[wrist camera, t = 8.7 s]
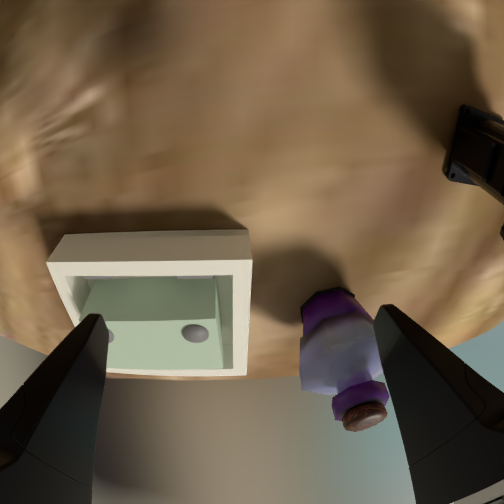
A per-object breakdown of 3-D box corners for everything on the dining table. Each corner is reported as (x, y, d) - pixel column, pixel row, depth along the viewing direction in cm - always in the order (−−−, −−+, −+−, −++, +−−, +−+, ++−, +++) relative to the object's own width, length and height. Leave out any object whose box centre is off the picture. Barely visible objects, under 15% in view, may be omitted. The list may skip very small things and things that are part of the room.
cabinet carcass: (248, 229, 22) (252, 259, 19) (243, 345, 30) (246, 375, 27) (64, 234, 20) (46, 262, 17) (106, 343, 28) (99, 371, 25)
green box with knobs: (215, 274, 23) (215, 320, 19) (221, 326, 26) (223, 369, 23) (95, 280, 22) (77, 322, 18) (116, 328, 26) (106, 369, 22)
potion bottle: (272, 336, 29) (292, 451, 19) (299, 268, 24) (340, 403, 15) (348, 338, 31) (382, 437, 21) (385, 277, 26) (443, 386, 16)
